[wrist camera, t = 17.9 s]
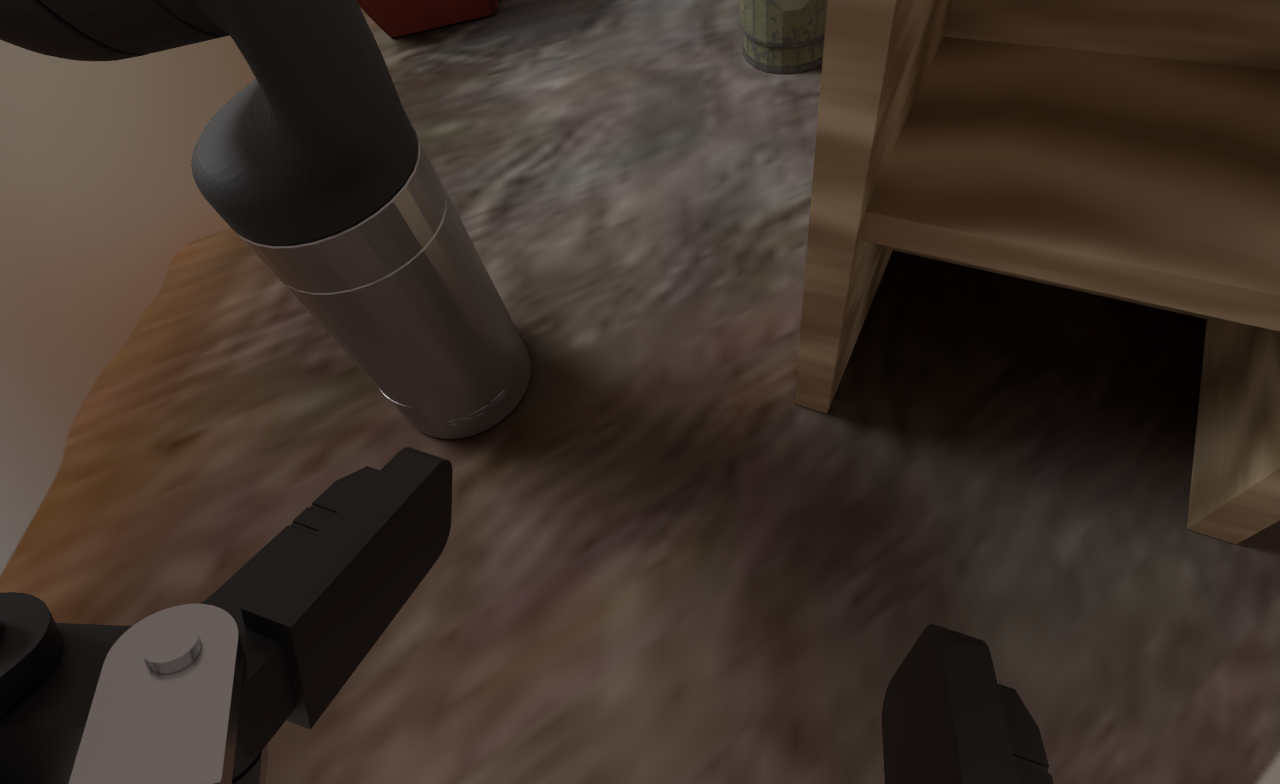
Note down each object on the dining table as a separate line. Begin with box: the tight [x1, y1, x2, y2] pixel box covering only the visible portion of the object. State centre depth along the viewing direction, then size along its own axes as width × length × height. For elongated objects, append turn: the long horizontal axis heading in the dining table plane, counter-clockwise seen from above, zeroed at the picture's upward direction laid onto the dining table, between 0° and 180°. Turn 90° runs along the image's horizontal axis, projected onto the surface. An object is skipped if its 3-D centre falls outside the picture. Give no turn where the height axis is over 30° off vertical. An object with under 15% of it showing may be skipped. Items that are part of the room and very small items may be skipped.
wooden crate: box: [795, 0, 1280, 545], centre depth 26 cm, size 16×22×31 cm
